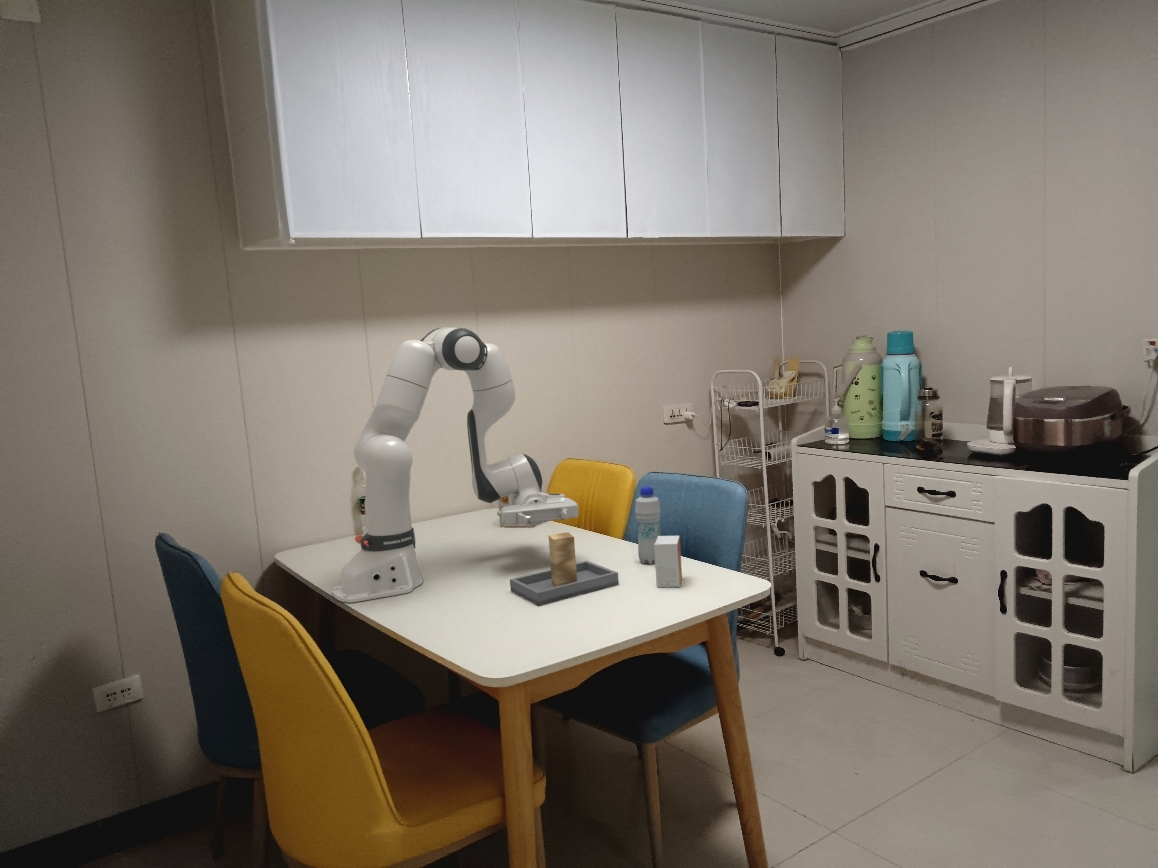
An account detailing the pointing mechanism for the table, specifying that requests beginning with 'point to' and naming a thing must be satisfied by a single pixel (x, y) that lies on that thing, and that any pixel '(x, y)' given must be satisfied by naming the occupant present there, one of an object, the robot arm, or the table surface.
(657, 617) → the table surface
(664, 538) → the small box
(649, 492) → the bottle
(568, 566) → the oak block
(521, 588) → the tray
